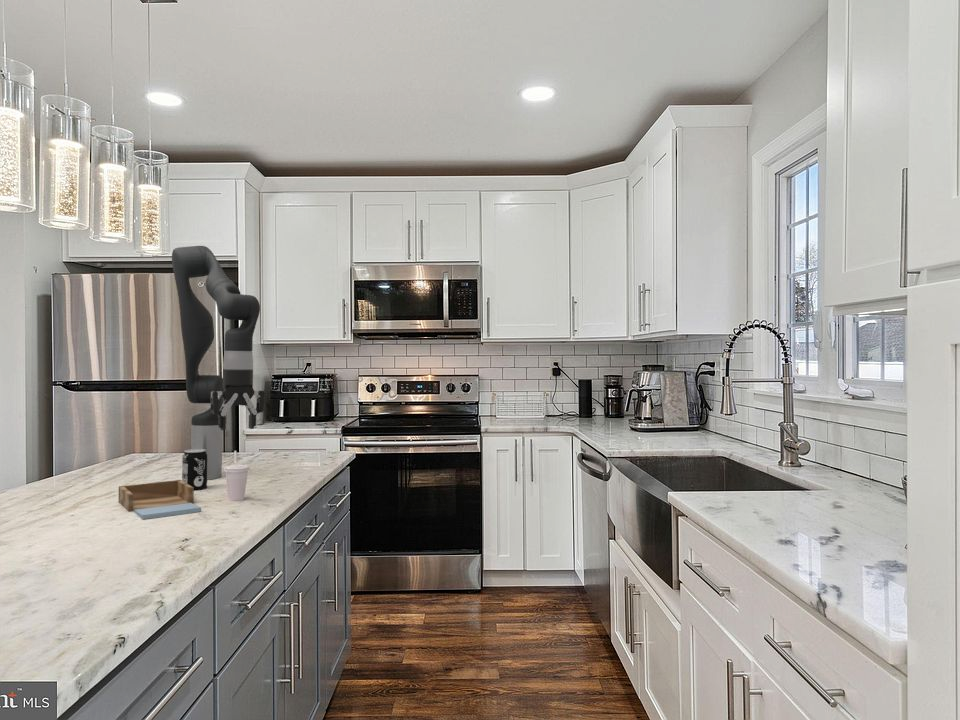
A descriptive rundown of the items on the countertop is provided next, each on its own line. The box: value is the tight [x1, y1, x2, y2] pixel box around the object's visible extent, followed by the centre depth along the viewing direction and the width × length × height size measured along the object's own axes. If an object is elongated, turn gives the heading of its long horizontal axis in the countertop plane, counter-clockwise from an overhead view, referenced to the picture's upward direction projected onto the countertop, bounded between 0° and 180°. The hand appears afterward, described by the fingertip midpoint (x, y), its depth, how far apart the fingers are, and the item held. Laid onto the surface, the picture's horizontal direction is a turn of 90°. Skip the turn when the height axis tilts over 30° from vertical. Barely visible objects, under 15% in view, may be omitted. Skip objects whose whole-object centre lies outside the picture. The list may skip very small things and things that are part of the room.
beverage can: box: [181, 448, 208, 492], centre depth 181 cm, size 7×7×12 cm
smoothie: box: [223, 450, 250, 502], centre depth 168 cm, size 6×6×14 cm
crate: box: [118, 479, 195, 513], centre depth 163 cm, size 13×15×5 cm
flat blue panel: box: [133, 502, 202, 520], centre depth 154 cm, size 1×13×10 cm
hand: (237, 429), depth 168 cm, fingers open, 7 cm apart
